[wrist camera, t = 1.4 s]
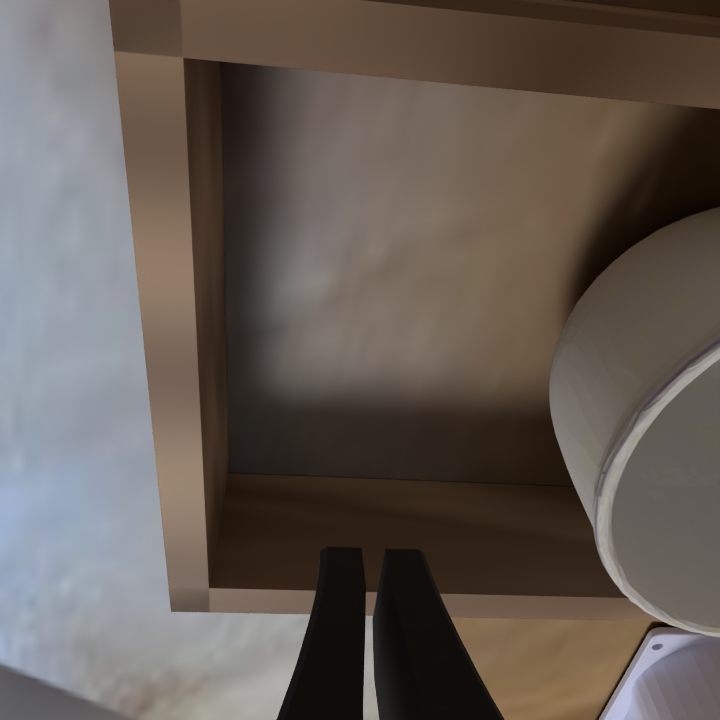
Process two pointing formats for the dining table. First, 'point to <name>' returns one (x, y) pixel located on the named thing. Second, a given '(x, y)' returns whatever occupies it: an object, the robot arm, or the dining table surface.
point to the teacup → (650, 419)
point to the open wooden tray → (207, 292)
